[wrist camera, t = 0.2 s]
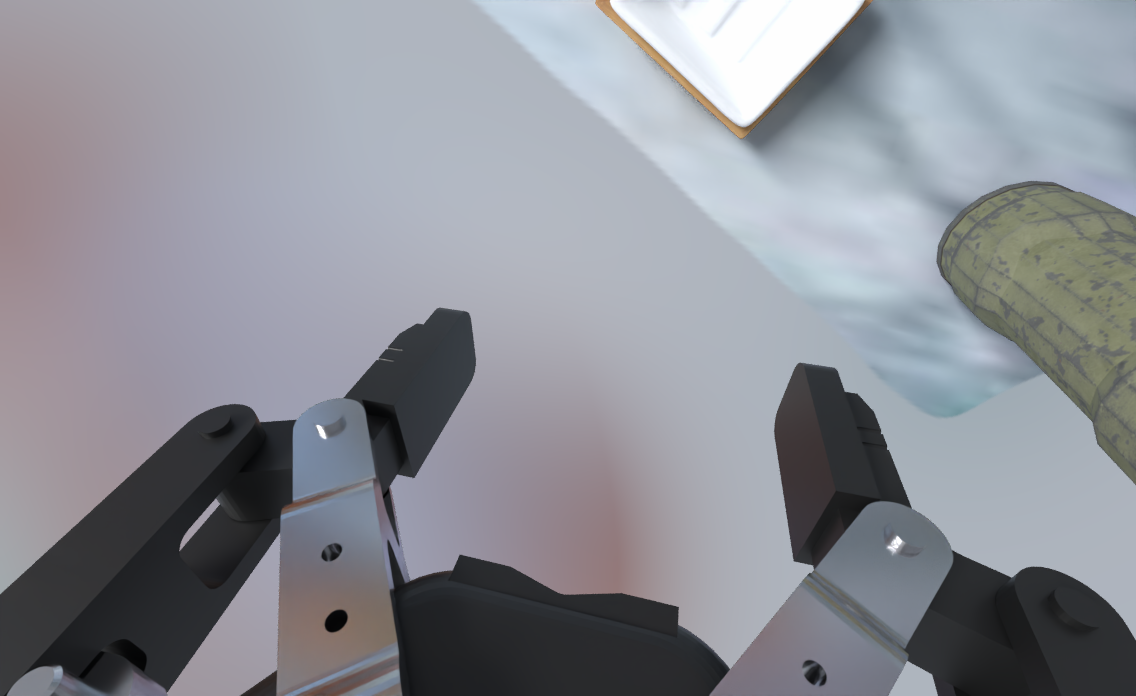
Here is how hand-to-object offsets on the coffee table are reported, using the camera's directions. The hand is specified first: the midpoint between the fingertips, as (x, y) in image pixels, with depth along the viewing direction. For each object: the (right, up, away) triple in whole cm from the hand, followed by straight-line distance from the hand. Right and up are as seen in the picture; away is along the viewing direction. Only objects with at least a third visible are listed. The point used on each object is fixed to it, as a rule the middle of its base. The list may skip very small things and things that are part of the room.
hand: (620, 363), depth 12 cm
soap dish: (+9, +23, +18) cm, 30 cm away
